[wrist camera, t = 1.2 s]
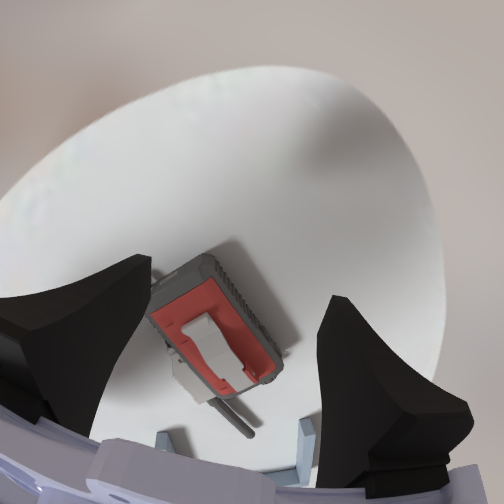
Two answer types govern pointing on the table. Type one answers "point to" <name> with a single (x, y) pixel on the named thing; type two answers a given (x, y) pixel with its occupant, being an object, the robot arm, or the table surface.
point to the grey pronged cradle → (282, 478)
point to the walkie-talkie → (212, 336)
